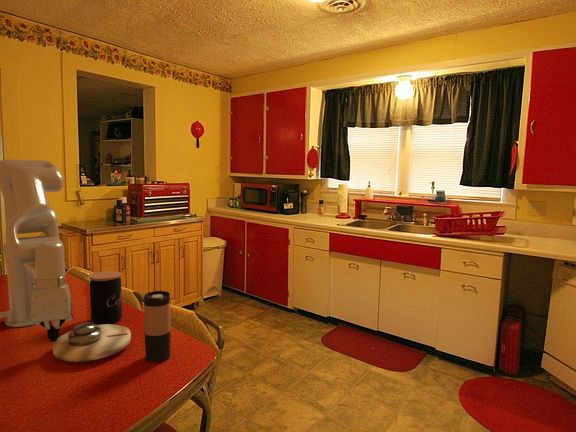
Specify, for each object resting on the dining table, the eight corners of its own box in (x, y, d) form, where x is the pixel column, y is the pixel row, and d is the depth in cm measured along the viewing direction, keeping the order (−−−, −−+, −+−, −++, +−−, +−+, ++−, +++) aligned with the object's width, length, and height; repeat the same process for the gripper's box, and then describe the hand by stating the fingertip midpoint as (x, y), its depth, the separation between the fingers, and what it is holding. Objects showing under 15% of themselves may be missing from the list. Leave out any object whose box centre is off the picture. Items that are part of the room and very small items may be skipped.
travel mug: (149, 351, 119) (147, 290, 117) (173, 351, 120) (172, 290, 117) (141, 363, 111) (140, 298, 109) (167, 363, 112) (167, 298, 110)
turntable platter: (45, 366, 105) (44, 359, 105) (60, 334, 125) (60, 328, 125) (130, 354, 113) (129, 348, 113) (131, 326, 134) (131, 320, 133)
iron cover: (65, 347, 112) (64, 333, 112) (72, 335, 121) (71, 321, 120) (98, 344, 115) (98, 330, 115) (103, 332, 124) (102, 318, 123)
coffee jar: (110, 327, 136) (108, 279, 134) (84, 324, 138) (82, 277, 136) (128, 316, 147) (126, 272, 145) (104, 314, 149) (102, 270, 147)
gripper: (17, 288, 107) (21, 349, 109) (77, 283, 112) (79, 341, 114) (25, 280, 114) (28, 338, 116) (80, 276, 119) (83, 332, 121)
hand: (54, 340), depth 115 cm, fingers closed
